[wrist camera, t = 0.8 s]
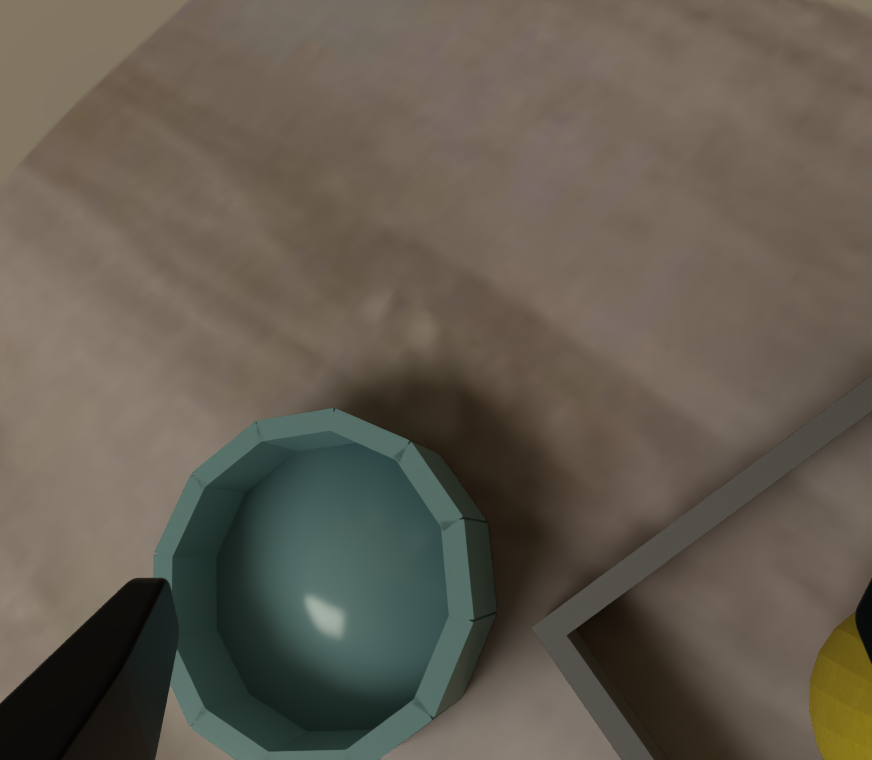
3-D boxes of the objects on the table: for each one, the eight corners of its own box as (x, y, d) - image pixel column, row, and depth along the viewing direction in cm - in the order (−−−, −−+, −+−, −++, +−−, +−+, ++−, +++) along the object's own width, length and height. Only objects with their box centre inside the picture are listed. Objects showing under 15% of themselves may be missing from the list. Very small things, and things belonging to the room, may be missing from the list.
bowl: (560, 625, 21) (545, 636, 18) (300, 817, 22) (248, 855, 19) (380, 370, 25) (346, 347, 22) (164, 543, 26) (105, 542, 23)
